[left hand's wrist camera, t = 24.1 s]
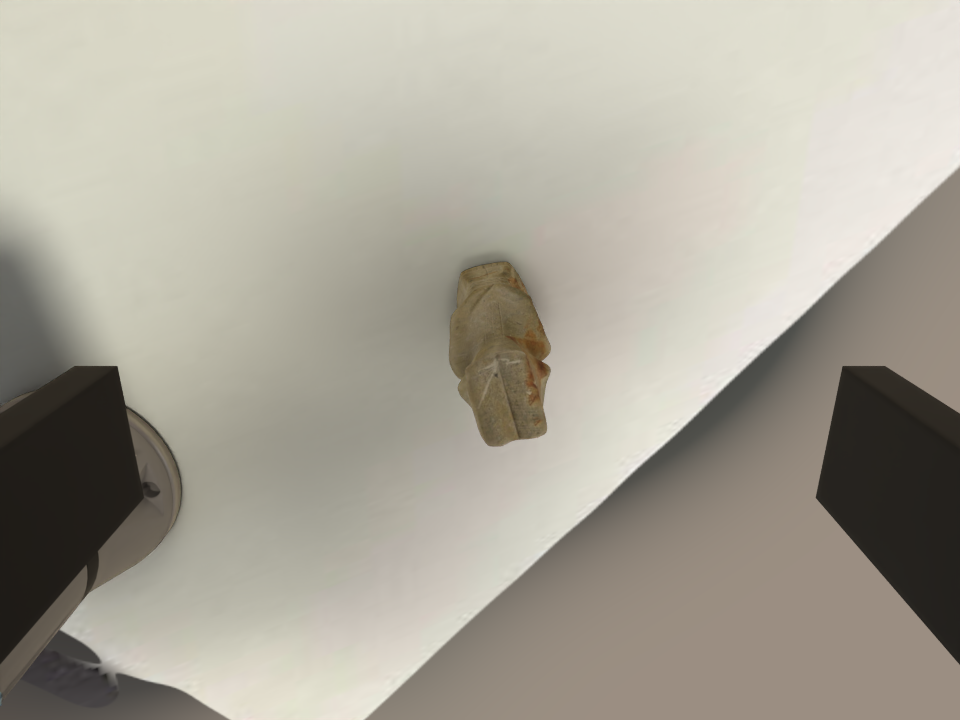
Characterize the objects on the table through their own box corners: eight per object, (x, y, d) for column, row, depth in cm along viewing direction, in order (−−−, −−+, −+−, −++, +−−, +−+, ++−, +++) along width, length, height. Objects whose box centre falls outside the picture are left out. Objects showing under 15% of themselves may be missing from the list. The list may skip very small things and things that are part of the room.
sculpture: (463, 360, 48) (456, 464, 34) (444, 262, 45) (428, 331, 31) (544, 346, 48) (570, 446, 34) (529, 247, 45) (551, 310, 31)
